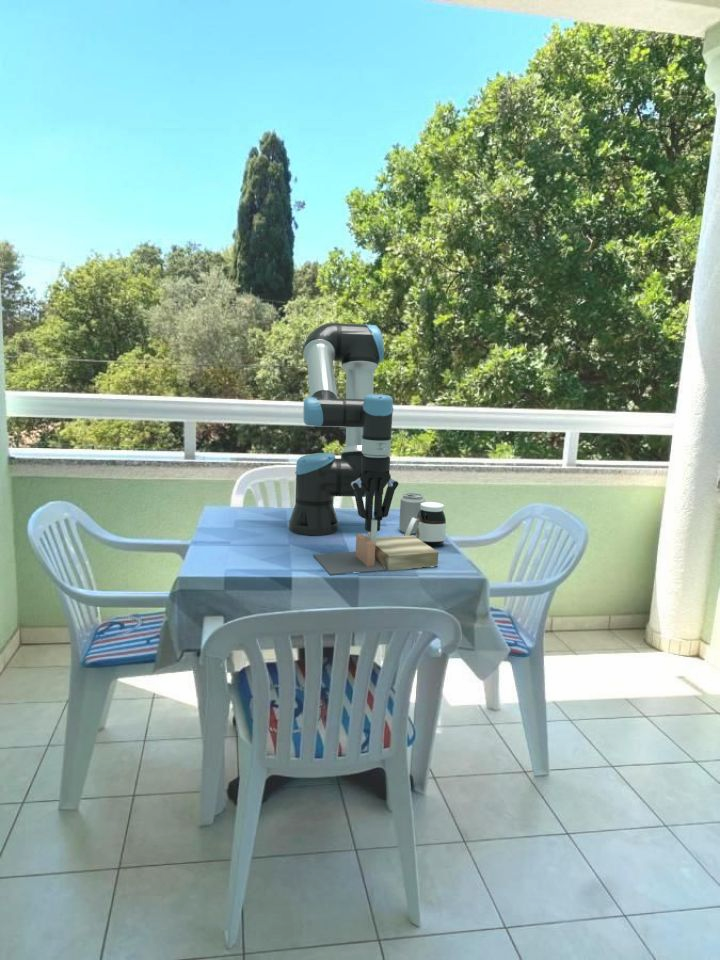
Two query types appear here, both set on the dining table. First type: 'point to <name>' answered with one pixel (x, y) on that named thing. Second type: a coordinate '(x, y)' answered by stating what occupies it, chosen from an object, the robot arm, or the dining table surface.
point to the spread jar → (429, 524)
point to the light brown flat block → (365, 550)
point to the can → (409, 510)
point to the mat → (345, 563)
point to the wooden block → (404, 553)
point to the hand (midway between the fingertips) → (371, 542)
